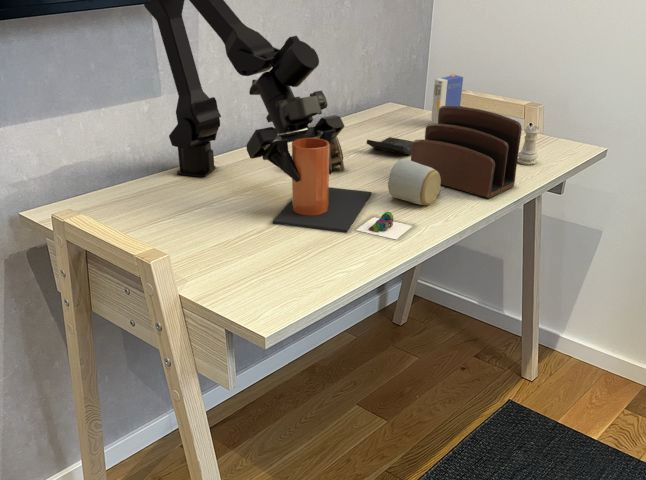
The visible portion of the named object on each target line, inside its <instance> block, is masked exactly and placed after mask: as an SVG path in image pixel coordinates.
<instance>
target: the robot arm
mask: <svg viewBox="0 0 646 480" xmlns="http://www.w3.org/2000/svg"><path fill="white" fill-rule="evenodd" d="M188 1H189V2H190V4H191V5H192V6H193V7H194V8H195V9H196V11H197V12H198V13H199V14H200V15H201V17H202V18H203V19H204V20H205V22H206V23H207V24H208V25H209V27H211V29H212V30H213V31H214V32H215V34H216V35H217V36H218V37H219V38H220V40H221V41H222V43H223V44H224V48H225V54H226V57H227V58H228V60H229V62H230V63H231V65H232V66H233V68H234V70H235V71H236V72H237V73H238V74H239V75H240V76H242V77H250V76H254V75H257V74H261V75H260V76H259V77H258V78H257V79H252V81H251V85H250V88H249V91H248V93H249V95H250V96H260V98H261V100H262V103H263V105H264V107H265V110H266V112H267V115H266V117H265V119H266V121H267V123H272V124H273V125H272V126H267V127H264V128H258V129H255V130H254V132H253V134H252V135H251V137H250V138H249V140H248V141H247V142H246V152H247V154H248V156H249V158H250V159H251V160H253V159H258V158H262V161H268V162H269V163H272V164H273V165H274V166H276V167H277V168H278V169H280V170H281V171H282V172H284V174H286V175H287V176H288V177H290V178H291V180H292V179H293V180H295V181H296V182H299V181H300V176H299V173H298V170H297V168H296V166H295V164H294V162H293V160H292V157H291V156H292V154H291V153H290V151H289V144H288V143H292V142H293V141H294V140H297V139H301V138H320V139H324V140H326V141H328V142H329V144H331V141H333V140H334V139H335V138H336V136H337V137H338V136H339V134H340V133H341V132H342V130H343V129H344V128H345V124H344V121H343V120H342V118H341V116H339V115H337V114H334V115H328V116H322V117H321V118H320V119H319V120H318V121H317V123H316V124H315V125H314V126H310V127H309V124H311V123H313V121H314V118H313V117H314V116H317V115H322V114H323V111H322V110H325V109H326V108H328V101H327V97H326V95H325V94H324V91H323V90H316V91H313V92H311V93H309V96H304V97H300V96H295V94H294V92H293V90H292V88H298V87H299V86H300V85H301V84H302V83H304V82H305V81H306V79H307V78H308V77H309V76H310V75H311V74H312V73H313V72H314V71H315V70H316V68H317V67H319V65H320V58H319V55H318V53H317V50H315V48H312V47H311V45H309V44H308V43H306V42H305V41H302V40H300V39H299V37H298V36H297V35H292V36H289V37H288V38H287V39H286V40H285V42H284V43H283V46H282V47H281V48H277V47H276V46H275V47H274V46H273V45H272V43H271V42H270V41H269V40H268V39H267V38H266V37H265V36H263V35H262V34H261V33H260V32H259V31H257V30H255V29H253V28H251V27H248V26H247V25H246V24H245V23H244V22H242V20H240V18H239V17H238V15H236V13H235V12H234V11H233V9H232V8H231V6H229V5H228V4H227V2H226V1H225V0H188ZM184 5H185V0H151V2H148V3H144V4H143V6H144V8H145V10H147V11H148V13H149V14H150V15H151V16H152V17H153V18H154V20H155V21H156V22H157V26H158V29H159V33H160V37H161V40H162V43H163V46H164V50H165V54H166V57H167V61H168V64H169V68H170V71H171V75H172V78H173V82H174V85H175V89H176V92H177V96H178V98H177V103H176V108H175V116H176V121H177V125H176V126H175V127H174V128H173V129H172V131H171V132H170V133H169V135H168V138H169V140H170V143H171V146H172V147H176V148H177V154H178V155H177V156H178V163H179V164H178V165H179V169H178V170H177V171H176V175H180V176H190V177H198V178H205V177H207V176H208V175H209V174H210V173H211V172H213V171H214V170H215V169H216V168H217V167H216V165H215V158H214V157H215V155H214V150H213V149H212V145H211V144H212V143H211V142H212V141H213V142H214V141H216V140H217V136H218V135H217V134H218V132H219V128H220V127H221V119H220V118H222V115H221V113H220V110H219V108H218V101H217V99H216V97H214V96H212V97H209V96H208V95H207V93H206V92H205V91H204V90H203V87H202V84H201V80H200V77H199V73H198V69H197V66H196V62H195V59H194V55H193V51H192V48H191V43H190V41H189V36H188V33H187V29H186V26H185V21H184V19H183V10H184ZM291 87H292V88H291ZM332 173H333V167H332V164H331V152H330V145H329V175H331V174H332Z"/></svg>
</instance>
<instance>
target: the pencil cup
mask: <svg viewBox="0 0 646 480" xmlns="http://www.w3.org/2000/svg"><path fill="white" fill-rule="evenodd" d="M329 145H330V144H329V142H328V141H326V140H324V139H320V138H301V139H297V140H294V141H293V142H291V156H292V160H293V162H294V164H295V166H296V168H297V170H298V173H299V176H300V181H299V182H296V181H295V180H293V179H292V178H291V192H292V193H291V200H292V205H293V211H294V212H296V213H298V214H301V215H308V216H313V215H320V214H323V213H325V212H327V210H328V197H329V187H330V174H329Z"/></svg>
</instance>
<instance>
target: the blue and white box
mask: <svg viewBox="0 0 646 480" xmlns="http://www.w3.org/2000/svg"><path fill="white" fill-rule="evenodd" d="M463 82H464V76H462V75H457V74H454V73H453V74H450V75H448V76H443V77H439V78H434V85H433V98H432V106H431V107H432V108H431V118H430V124H432V123H434V124H438V113H439V109H440V107H441V106H460V107H461V101H462V92H463Z"/></svg>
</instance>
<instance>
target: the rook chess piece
mask: <svg viewBox="0 0 646 480" xmlns="http://www.w3.org/2000/svg"><path fill="white" fill-rule="evenodd" d="M524 133H525V136H524V142H523V145H522V149H521V150H520V152H519V153H518V160H517V163H518V164H521V165H523V166H533V165H536V164H537V162H538V160H537V159H538V158H539V157H538V154H537V150H536V144H537V140H538V135H539V134H540V129H539V126H538V125H534V124H531V125H530V124H529V125H528V124H527V125H526V128H525V129H524Z"/></svg>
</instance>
